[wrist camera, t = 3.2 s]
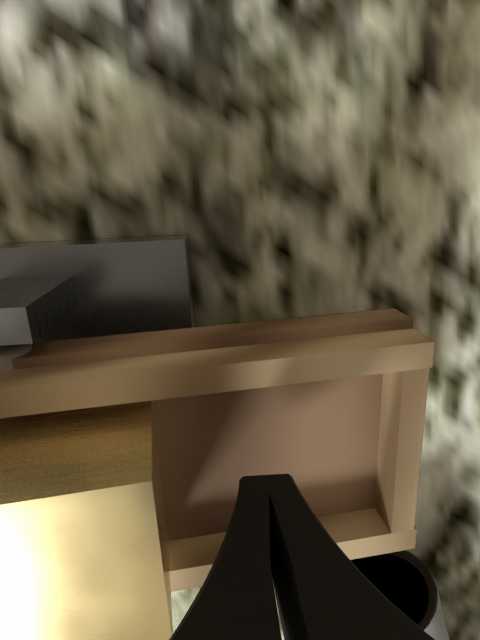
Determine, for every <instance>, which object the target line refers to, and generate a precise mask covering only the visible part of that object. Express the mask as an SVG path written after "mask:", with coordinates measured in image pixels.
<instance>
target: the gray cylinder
mask: <svg viewBox="0 0 480 640" xmlns="http://www.w3.org/2000/svg"><path fill="white" fill-rule="evenodd" d="M351 561H352V563H353V564H354V565H355V566H356V567H357V568H358V569H359V570H360V571H361V573H362V574H363V575H364V576H365V577H366V578H367V579H368V580H369V581H370V582H371V583H372V584H373V585H374V586H375V587H376V588H377V589H378V590H379V591H380V592H381V593H382V594H383V595H384V596H385V597H386V598H387V599H388V600H389V601H390V602H392V603H393V604H394V605H395V606H396V607H397V608H398V609H399V610H401V611H402V612H403V613H404V614H405V615H406V616H408V617H409V618H410V619H411V620H412V621H413V622H415V623H416V624H417V625H418V626H419V627H420V628H422V629H423V630H424V631H425V632H426V633H427V634H429V635H430V636H431V637H432V638H434V639H435V640H449V636H448V631H447V627H446V623H445V618H444V614H443V609H442V605H441V601H440V596H439V592H438V588H437V585H436V581H435V579H434V577H433V575H432V573H431V572H430V570H429V569H428V567H427V566H426V565H425V564H424V563H423V562H422V561H421V560H420V559H419V558H418V557H416V556H415V555H414V554H412V553H410V552H409V551H407V550H403V551H398V552H392V553H386V554H381V555H375V556H369V557H364V558H358V559H352V560H351Z"/></svg>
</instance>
